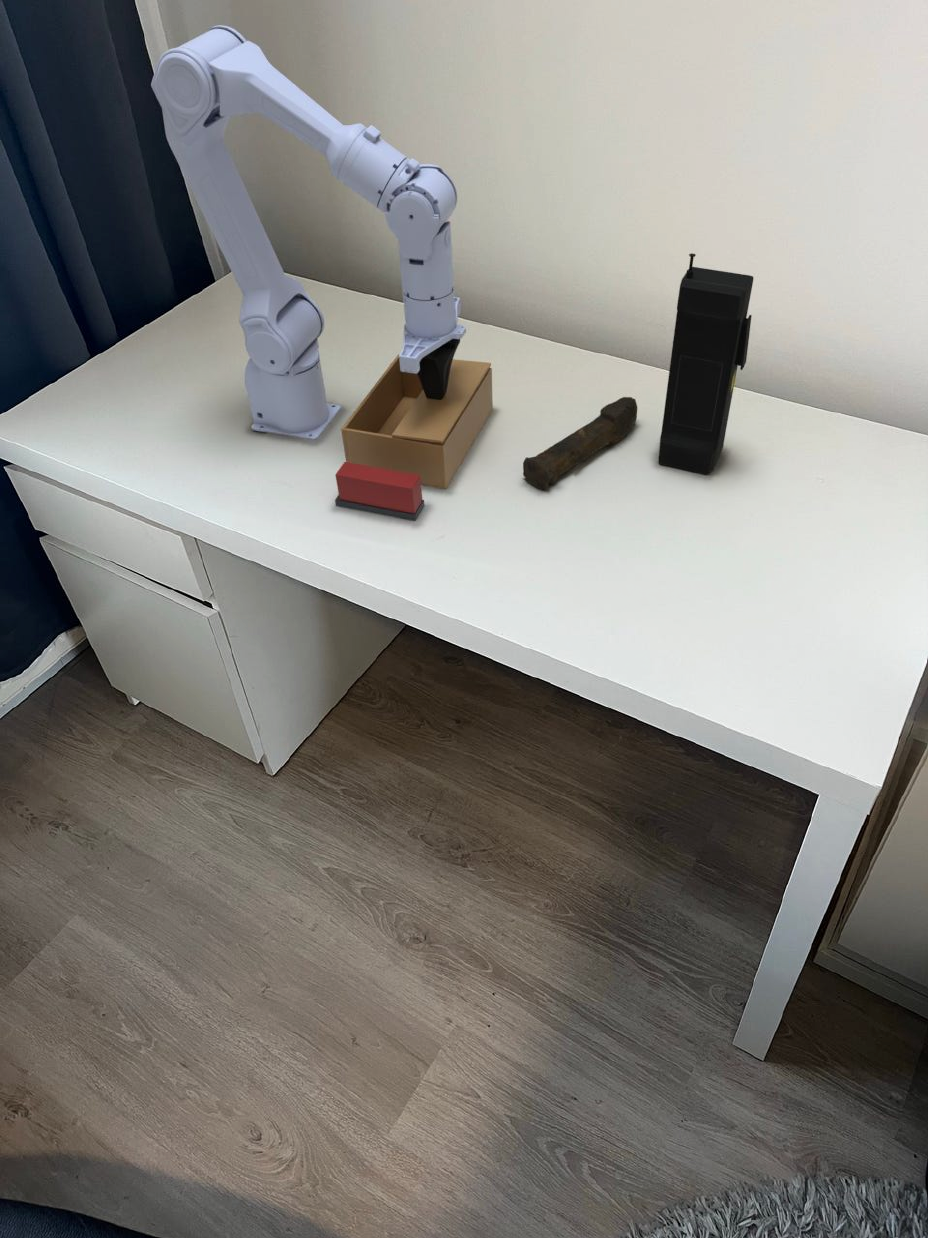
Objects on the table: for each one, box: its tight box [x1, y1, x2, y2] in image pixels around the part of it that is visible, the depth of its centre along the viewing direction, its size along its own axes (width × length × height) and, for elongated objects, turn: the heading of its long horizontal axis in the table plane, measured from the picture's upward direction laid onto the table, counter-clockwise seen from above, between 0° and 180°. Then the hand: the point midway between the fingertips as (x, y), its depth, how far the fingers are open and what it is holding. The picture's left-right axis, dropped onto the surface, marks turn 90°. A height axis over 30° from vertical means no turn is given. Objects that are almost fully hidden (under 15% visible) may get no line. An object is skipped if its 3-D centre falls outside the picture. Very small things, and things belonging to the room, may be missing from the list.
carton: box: [340, 354, 494, 490], centre depth 117 cm, size 18×13×6 cm
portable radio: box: [658, 253, 754, 475], centre depth 105 cm, size 8×6×25 cm
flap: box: [392, 358, 492, 443], centre depth 113 cm, size 18×6×1 cm, turn 161°
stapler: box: [334, 461, 425, 522], centre depth 108 cm, size 10×3×5 cm, turn 71°
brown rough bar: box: [522, 396, 638, 491], centre depth 114 cm, size 19×4×5 cm, turn 131°
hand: (435, 396), depth 113 cm, fingers closed, pressing on flap
